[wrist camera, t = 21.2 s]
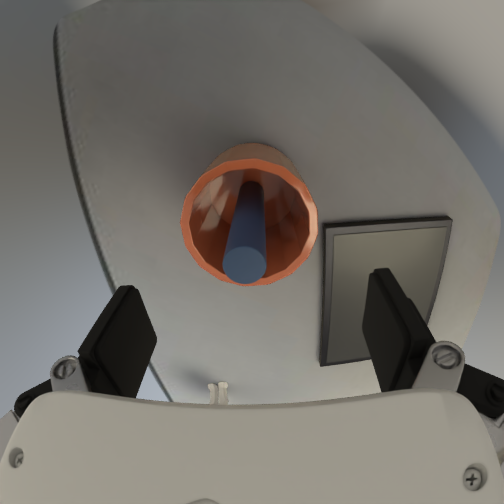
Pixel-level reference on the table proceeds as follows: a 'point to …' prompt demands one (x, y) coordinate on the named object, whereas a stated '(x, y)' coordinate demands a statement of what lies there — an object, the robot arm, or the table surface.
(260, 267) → the stylus
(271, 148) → the pen cup
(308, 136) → the table surface
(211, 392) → the toy robot
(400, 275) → the tablet
